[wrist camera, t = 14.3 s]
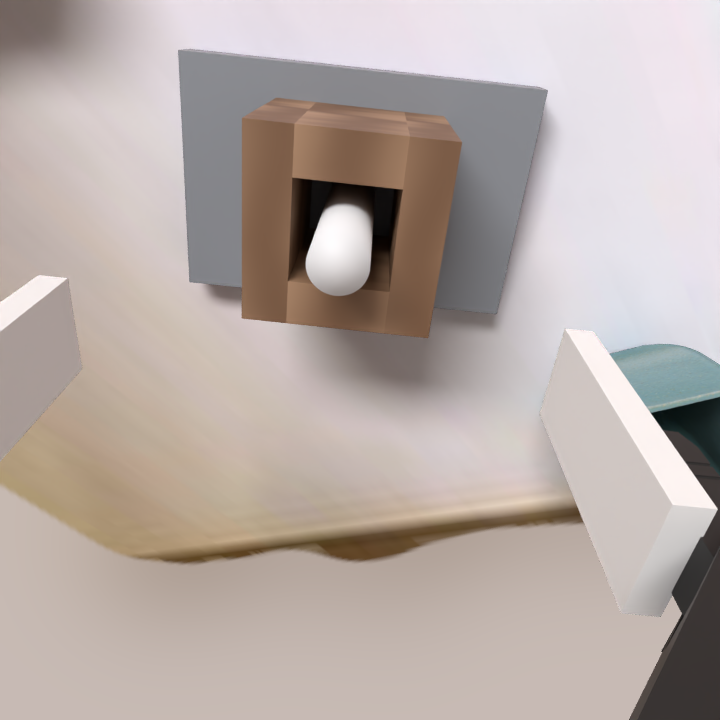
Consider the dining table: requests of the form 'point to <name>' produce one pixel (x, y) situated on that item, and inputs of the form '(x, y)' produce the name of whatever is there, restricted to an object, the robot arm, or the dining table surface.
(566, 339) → the robot arm
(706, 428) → the flower pot
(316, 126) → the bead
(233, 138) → the spindle stand
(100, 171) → the dining table surface
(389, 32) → the dining table surface
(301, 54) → the dining table surface
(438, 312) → the dining table surface
